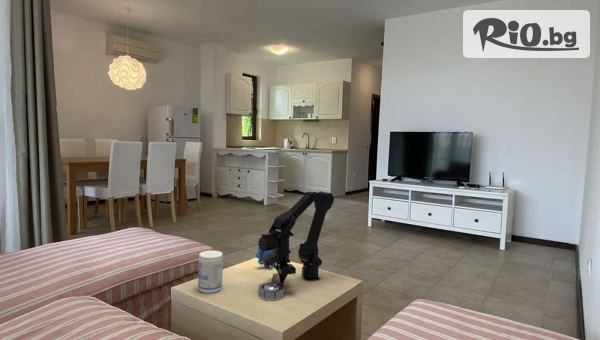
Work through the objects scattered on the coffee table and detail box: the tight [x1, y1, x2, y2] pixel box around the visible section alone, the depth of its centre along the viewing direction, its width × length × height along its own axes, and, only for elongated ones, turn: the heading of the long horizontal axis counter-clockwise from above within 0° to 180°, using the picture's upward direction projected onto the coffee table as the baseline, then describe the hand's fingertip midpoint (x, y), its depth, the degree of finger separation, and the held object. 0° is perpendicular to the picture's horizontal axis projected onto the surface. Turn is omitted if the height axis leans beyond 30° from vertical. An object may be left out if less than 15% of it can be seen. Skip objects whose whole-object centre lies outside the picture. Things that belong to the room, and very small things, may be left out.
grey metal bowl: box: [258, 283, 285, 302], centre depth 147 cm, size 10×10×4 cm
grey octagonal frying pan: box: [258, 272, 285, 299], centre depth 152 cm, size 18×10×3 cm, turn 177°
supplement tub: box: [197, 250, 224, 294], centre depth 151 cm, size 10×10×15 cm
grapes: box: [255, 246, 275, 269], centre depth 177 cm, size 12×7×12 cm, turn 114°
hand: (281, 283), depth 157 cm, fingers closed
